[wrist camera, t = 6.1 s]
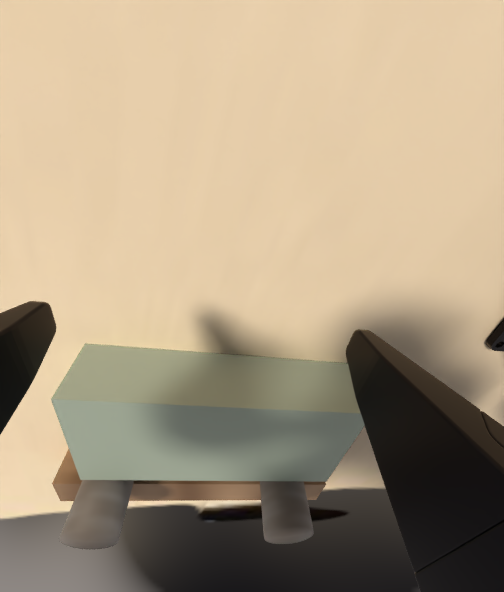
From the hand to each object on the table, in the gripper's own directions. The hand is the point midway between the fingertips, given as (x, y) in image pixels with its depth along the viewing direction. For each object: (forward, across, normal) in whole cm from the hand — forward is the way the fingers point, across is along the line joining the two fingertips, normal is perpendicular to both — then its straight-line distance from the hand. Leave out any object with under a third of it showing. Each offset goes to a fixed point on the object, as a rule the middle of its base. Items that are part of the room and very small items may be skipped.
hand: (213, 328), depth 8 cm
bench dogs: (+6, 0, +18) cm, 19 cm away
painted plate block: (+6, -1, +11) cm, 12 cm away
